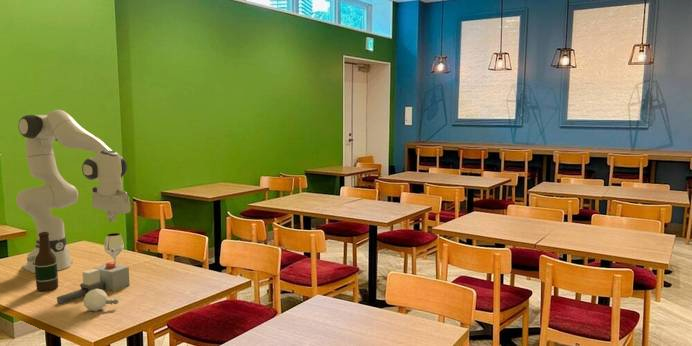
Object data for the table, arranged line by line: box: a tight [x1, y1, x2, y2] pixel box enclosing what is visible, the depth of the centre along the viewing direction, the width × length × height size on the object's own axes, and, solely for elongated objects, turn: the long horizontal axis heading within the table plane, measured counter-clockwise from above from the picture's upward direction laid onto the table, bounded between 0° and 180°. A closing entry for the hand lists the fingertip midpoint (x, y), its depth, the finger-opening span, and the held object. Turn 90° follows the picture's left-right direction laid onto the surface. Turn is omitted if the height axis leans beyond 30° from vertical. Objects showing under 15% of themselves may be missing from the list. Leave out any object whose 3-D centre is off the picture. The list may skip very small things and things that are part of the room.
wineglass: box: [103, 232, 125, 264], centre depth 227 cm, size 8×8×18 cm
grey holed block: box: [92, 263, 131, 292], centre depth 211 cm, size 12×8×8 cm, turn 63°
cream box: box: [79, 268, 104, 292], centre depth 203 cm, size 6×6×9 cm
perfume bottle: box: [83, 289, 119, 312], centre depth 186 cm, size 8×8×12 cm
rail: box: [56, 283, 106, 305], centre depth 199 cm, size 2×19×2 cm, turn 153°
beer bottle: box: [34, 232, 59, 293], centre depth 206 cm, size 8×8×24 cm
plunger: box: [105, 261, 115, 269], centre depth 211 cm, size 4×4×9 cm
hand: (112, 221), depth 213 cm, fingers closed
